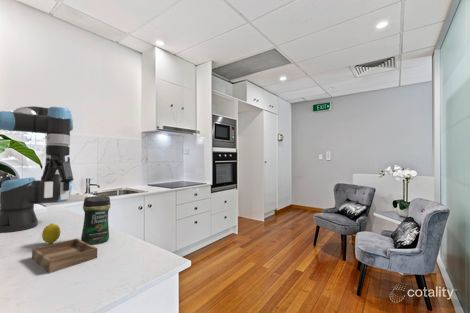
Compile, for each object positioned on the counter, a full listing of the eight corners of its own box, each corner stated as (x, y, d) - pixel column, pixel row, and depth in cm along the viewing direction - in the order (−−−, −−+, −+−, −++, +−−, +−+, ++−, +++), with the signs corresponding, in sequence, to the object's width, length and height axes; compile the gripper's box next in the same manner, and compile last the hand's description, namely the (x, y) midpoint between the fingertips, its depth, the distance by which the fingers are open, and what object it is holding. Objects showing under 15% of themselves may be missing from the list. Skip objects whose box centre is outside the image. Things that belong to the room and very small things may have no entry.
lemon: (44, 247, 84) (45, 226, 84) (39, 244, 87) (40, 223, 87) (62, 243, 88) (63, 223, 88) (56, 240, 91) (57, 220, 91)
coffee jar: (82, 247, 85) (84, 198, 85) (79, 241, 91) (81, 195, 91) (111, 242, 91) (112, 196, 92) (106, 236, 97) (108, 193, 97)
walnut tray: (31, 258, 74) (32, 249, 74) (76, 246, 85) (76, 238, 85) (49, 273, 65) (50, 262, 66) (97, 257, 76) (97, 248, 76)
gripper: (33, 146, 93) (30, 197, 92) (62, 142, 81) (60, 201, 80) (54, 148, 100) (52, 195, 99) (84, 144, 88) (83, 199, 86)
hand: (56, 198), depth 89 cm, fingers open, 13 cm apart
